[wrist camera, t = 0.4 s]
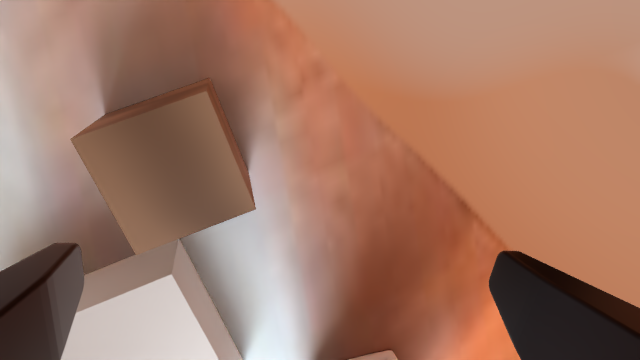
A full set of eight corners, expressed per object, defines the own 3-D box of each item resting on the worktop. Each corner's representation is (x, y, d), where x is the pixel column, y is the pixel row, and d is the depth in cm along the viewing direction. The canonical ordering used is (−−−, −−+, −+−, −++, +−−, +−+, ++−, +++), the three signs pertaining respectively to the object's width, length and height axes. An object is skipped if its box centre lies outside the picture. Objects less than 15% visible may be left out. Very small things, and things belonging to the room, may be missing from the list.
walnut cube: (153, 207, 22) (135, 255, 17) (105, 114, 20) (70, 139, 15) (248, 171, 22) (255, 208, 17) (209, 77, 20) (206, 91, 16)
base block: (98, 421, 25) (77, 488, 21) (8, 302, 22) (-35, 357, 18) (244, 358, 26) (248, 413, 22) (179, 234, 23) (171, 274, 19)
